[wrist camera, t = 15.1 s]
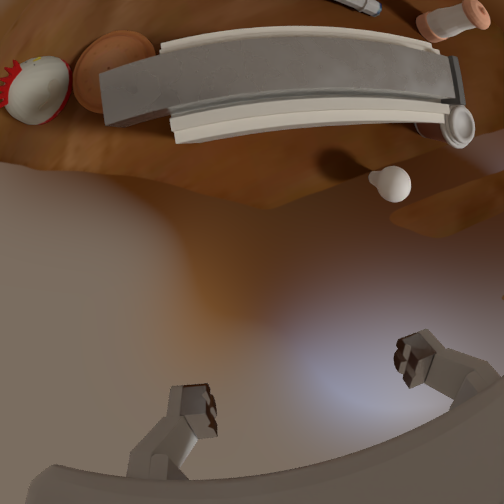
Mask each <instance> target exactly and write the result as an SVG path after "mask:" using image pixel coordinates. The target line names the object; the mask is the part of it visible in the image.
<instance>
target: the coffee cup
mask: <svg viewBox="0 0 504 504" xmlns="http://www.w3.org/2000/svg"><path fill="white" fill-rule="evenodd" d="M449 110H450V114H444V121H445V123H415V127H416V130H417V132H418V133H419V134H420V135H421V136H423V137H425V138H430V139H434V140H438V141H442V142H446V143H448V144H449V145H451V146H452V147H454V148H463V147H465V146H466V145H468V143H469V142H471V140H472V139H473V137H474V133H475V123H474V120H473V117H472V115H471V113H470V112H469V110H468V109H467V108H465V107H464V105H449Z"/></svg>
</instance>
